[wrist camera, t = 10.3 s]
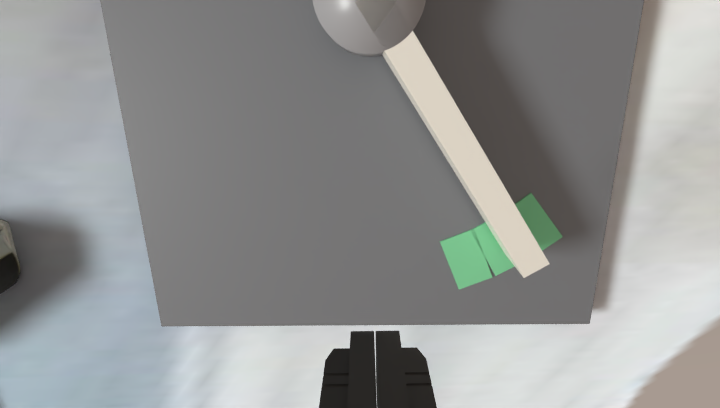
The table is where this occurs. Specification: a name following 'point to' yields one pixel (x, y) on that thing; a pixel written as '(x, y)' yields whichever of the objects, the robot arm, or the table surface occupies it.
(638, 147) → the table surface
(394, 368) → the robot arm
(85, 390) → the table surface
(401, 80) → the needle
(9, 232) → the tape dispenser
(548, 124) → the dial plate
